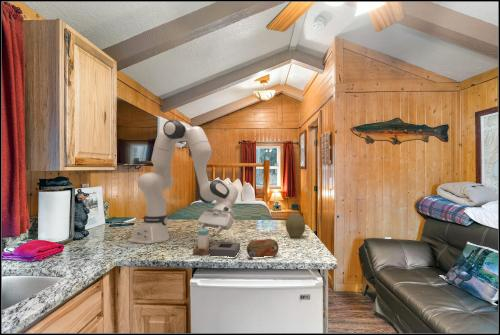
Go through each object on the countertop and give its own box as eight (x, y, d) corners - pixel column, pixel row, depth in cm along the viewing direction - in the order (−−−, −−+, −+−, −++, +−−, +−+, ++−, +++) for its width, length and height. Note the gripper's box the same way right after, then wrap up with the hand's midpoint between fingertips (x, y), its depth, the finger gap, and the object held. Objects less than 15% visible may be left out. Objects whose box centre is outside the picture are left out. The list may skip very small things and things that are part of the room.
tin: (247, 260, 113) (247, 241, 113) (245, 258, 116) (245, 239, 116) (278, 257, 117) (278, 238, 117) (276, 254, 120) (276, 237, 120)
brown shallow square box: (193, 255, 120) (193, 248, 120) (198, 250, 127) (198, 244, 127) (208, 255, 119) (208, 249, 119) (213, 250, 126) (213, 244, 126)
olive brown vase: (287, 239, 146) (287, 213, 146) (284, 235, 157) (284, 210, 157) (307, 239, 146) (307, 213, 147) (302, 234, 158) (302, 210, 158)
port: (209, 257, 116) (209, 248, 116) (216, 249, 128) (216, 241, 128) (235, 259, 115) (235, 250, 115) (240, 250, 126) (240, 242, 126)
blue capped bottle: (198, 254, 121) (198, 231, 121) (200, 251, 125) (201, 229, 125) (206, 254, 121) (206, 231, 121) (208, 251, 125) (208, 229, 125)
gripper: (203, 206, 138) (189, 227, 129) (233, 209, 126) (220, 232, 118) (208, 213, 141) (196, 234, 133) (238, 216, 130) (226, 240, 122)
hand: (207, 233), depth 126 cm, fingers open, 8 cm apart
